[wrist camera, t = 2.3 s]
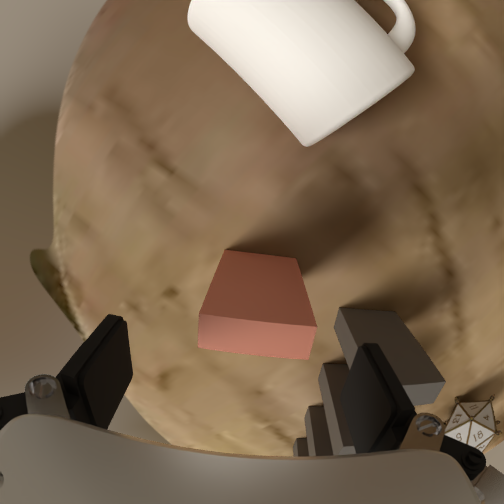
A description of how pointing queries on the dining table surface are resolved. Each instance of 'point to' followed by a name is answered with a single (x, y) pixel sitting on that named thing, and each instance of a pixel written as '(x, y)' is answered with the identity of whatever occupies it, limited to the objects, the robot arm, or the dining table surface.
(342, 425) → the dark gray domino tile
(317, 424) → the black tile
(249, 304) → the red tile
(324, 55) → the mug
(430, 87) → the dining table surface
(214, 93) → the dining table surface
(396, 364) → the black tile
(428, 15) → the dining table surface
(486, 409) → the game die
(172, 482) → the robot arm
